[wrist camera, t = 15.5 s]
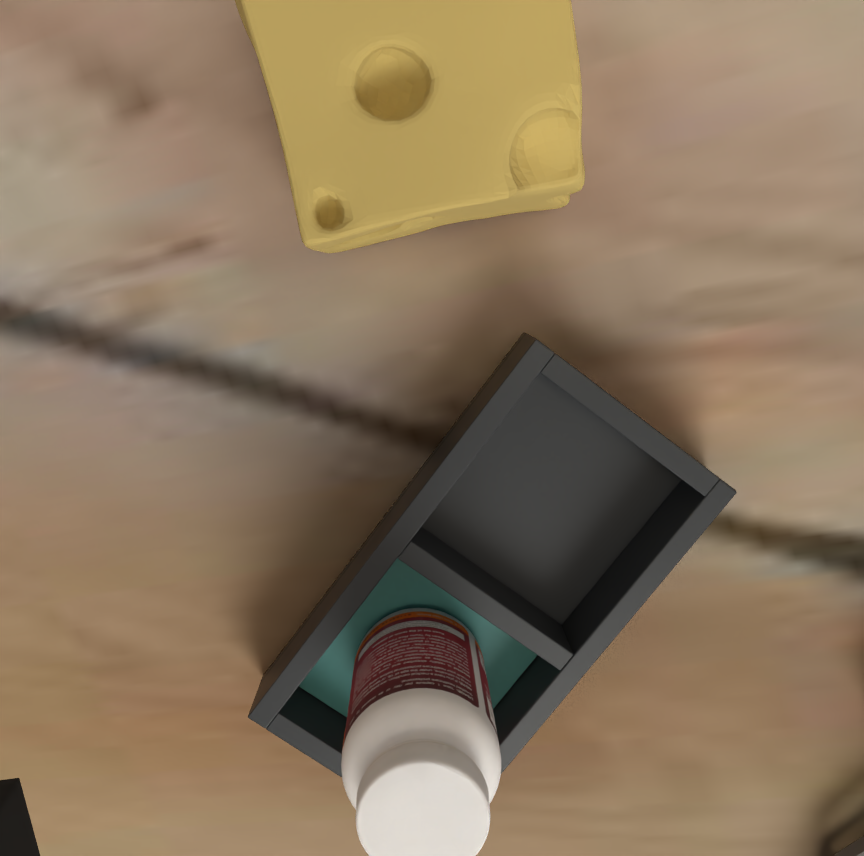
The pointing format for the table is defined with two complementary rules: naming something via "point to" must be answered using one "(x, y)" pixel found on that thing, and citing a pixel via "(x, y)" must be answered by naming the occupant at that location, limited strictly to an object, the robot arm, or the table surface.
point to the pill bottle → (420, 738)
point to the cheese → (419, 111)
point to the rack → (507, 551)
